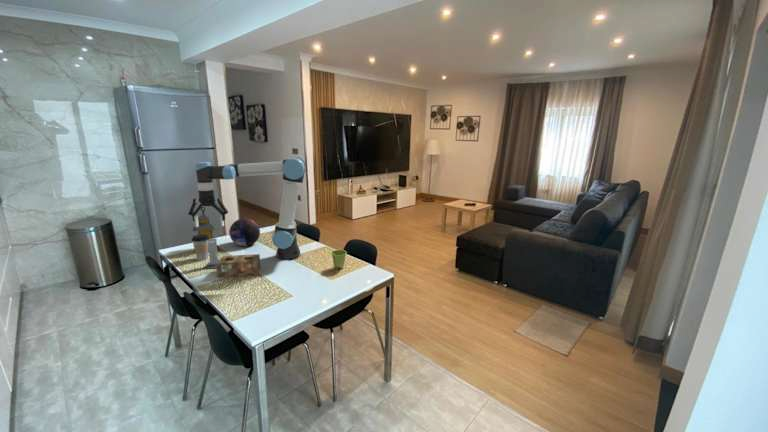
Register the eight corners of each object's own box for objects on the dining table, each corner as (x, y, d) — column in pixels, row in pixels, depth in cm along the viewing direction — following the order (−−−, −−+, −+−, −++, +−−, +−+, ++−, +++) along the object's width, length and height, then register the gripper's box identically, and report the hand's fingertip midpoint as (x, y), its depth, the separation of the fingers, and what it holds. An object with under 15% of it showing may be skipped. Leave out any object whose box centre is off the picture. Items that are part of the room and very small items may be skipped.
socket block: (260, 266, 181) (259, 254, 179) (256, 275, 169) (255, 261, 167) (224, 268, 177) (222, 255, 175) (217, 277, 165) (215, 263, 163)
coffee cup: (190, 260, 189) (187, 237, 186) (204, 255, 198) (201, 233, 194) (201, 262, 186) (198, 239, 182) (214, 257, 194) (212, 235, 191)
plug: (219, 263, 183) (216, 238, 180) (217, 266, 180) (214, 240, 176) (212, 264, 183) (209, 238, 179) (210, 266, 179) (207, 240, 176)
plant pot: (350, 265, 185) (349, 252, 183) (337, 270, 178) (337, 256, 176) (340, 261, 191) (340, 248, 189) (328, 265, 184) (327, 252, 182)
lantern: (195, 248, 210) (190, 206, 203) (218, 245, 217) (214, 204, 210) (195, 255, 198) (189, 210, 191) (219, 251, 205) (214, 208, 198)
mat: (226, 262, 187) (226, 261, 187) (221, 268, 177) (221, 267, 177) (208, 263, 185) (208, 262, 185) (202, 269, 176) (202, 268, 176)
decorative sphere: (236, 241, 227) (233, 215, 222) (264, 241, 229) (262, 215, 224) (226, 250, 208) (223, 221, 204) (256, 249, 210) (254, 221, 206)
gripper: (231, 188, 177) (235, 223, 182) (184, 189, 172) (189, 225, 177) (227, 190, 170) (231, 227, 175) (178, 191, 165) (183, 228, 170)
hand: (210, 226), depth 176 cm, fingers open, 13 cm apart
